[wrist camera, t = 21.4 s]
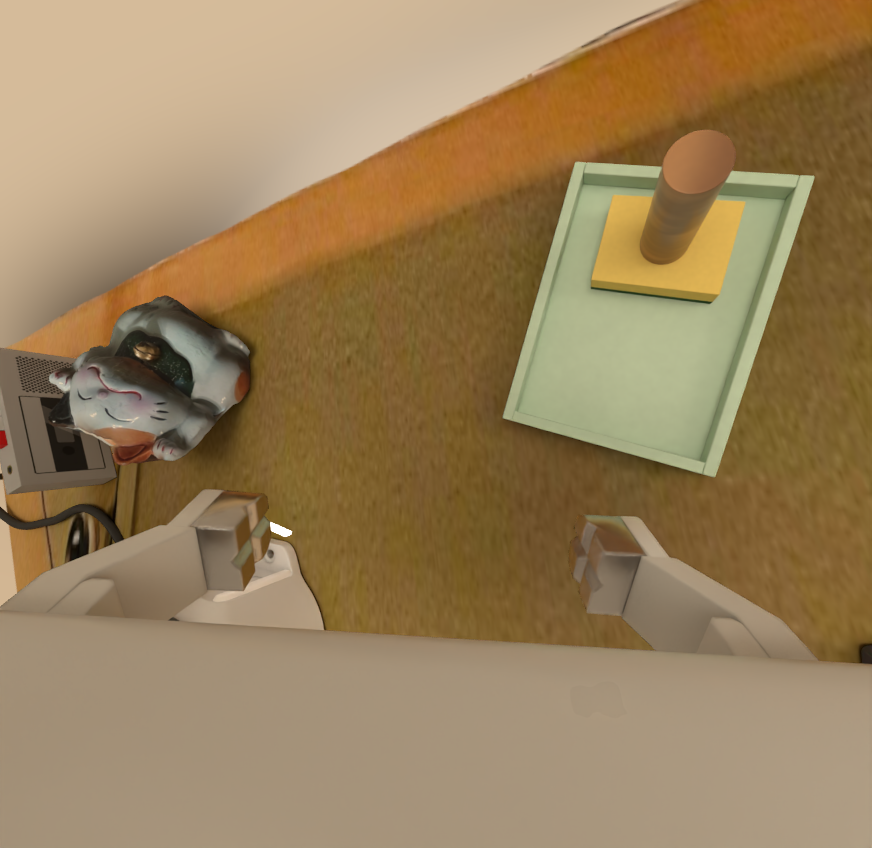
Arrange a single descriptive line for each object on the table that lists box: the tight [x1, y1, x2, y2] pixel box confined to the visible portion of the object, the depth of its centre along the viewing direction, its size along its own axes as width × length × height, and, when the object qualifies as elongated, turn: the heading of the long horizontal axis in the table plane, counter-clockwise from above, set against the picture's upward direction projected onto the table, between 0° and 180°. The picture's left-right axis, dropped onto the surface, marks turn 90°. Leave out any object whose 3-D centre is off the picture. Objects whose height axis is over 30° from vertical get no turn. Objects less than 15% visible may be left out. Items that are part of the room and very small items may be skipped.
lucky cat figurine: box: [48, 296, 250, 465], centre depth 40 cm, size 15×12×14 cm
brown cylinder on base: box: [591, 130, 745, 304], centre depth 24 cm, size 8×6×11 cm
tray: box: [503, 162, 814, 477], centre depth 30 cm, size 15×20×2 cm
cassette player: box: [0, 348, 117, 495], centre depth 47 cm, size 16×3×10 cm, turn 22°
